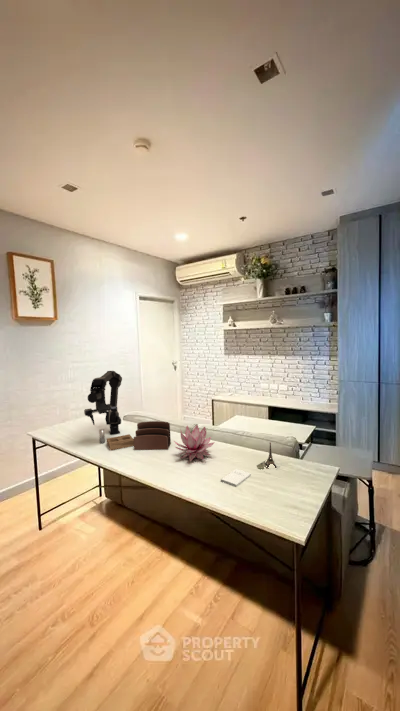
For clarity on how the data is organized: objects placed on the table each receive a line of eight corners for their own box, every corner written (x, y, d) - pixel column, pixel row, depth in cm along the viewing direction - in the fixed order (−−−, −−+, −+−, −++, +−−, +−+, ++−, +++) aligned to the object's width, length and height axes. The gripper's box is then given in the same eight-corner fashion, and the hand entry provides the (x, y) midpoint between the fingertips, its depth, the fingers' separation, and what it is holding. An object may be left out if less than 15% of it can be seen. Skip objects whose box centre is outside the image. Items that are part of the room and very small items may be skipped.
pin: (99, 442, 184) (98, 429, 183) (104, 441, 185) (103, 428, 184) (100, 444, 181) (99, 431, 180) (105, 443, 182) (104, 430, 182)
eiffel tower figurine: (269, 458, 153) (269, 433, 152) (287, 464, 145) (287, 438, 144) (252, 469, 142) (251, 441, 141) (270, 475, 135) (270, 447, 134)
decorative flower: (188, 446, 172) (187, 420, 171) (221, 452, 161) (220, 425, 160) (165, 460, 154) (164, 432, 153) (201, 468, 143) (200, 438, 142)
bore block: (106, 444, 180) (106, 438, 180) (129, 439, 187) (129, 434, 186) (110, 450, 170) (109, 444, 169) (134, 445, 176) (134, 440, 176)
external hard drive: (220, 482, 131) (235, 471, 140) (236, 488, 125) (251, 476, 135) (220, 479, 130) (235, 468, 140) (236, 484, 125) (251, 473, 135)
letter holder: (138, 443, 179) (137, 421, 178) (171, 443, 178) (169, 420, 177) (133, 450, 169) (132, 426, 168) (168, 450, 168) (167, 425, 167)
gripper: (85, 403, 169) (87, 430, 171) (118, 399, 178) (120, 424, 179) (83, 400, 179) (85, 425, 181) (114, 395, 188) (116, 419, 189)
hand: (101, 423), depth 182 cm, fingers open, 9 cm apart
